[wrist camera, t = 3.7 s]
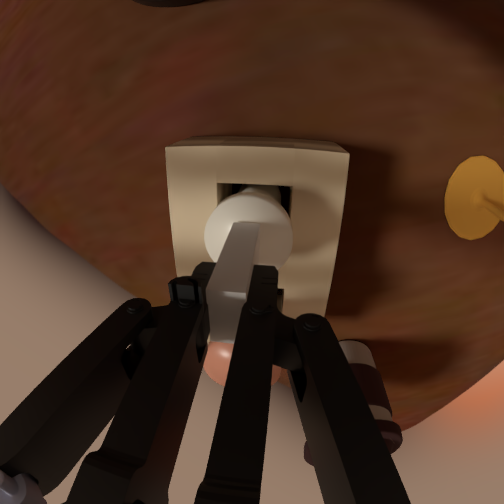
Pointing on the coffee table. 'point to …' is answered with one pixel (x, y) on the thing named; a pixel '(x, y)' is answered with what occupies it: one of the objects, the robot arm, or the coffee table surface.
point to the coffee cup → (370, 394)
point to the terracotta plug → (225, 362)
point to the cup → (475, 197)
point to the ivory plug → (253, 211)
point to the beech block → (265, 173)
